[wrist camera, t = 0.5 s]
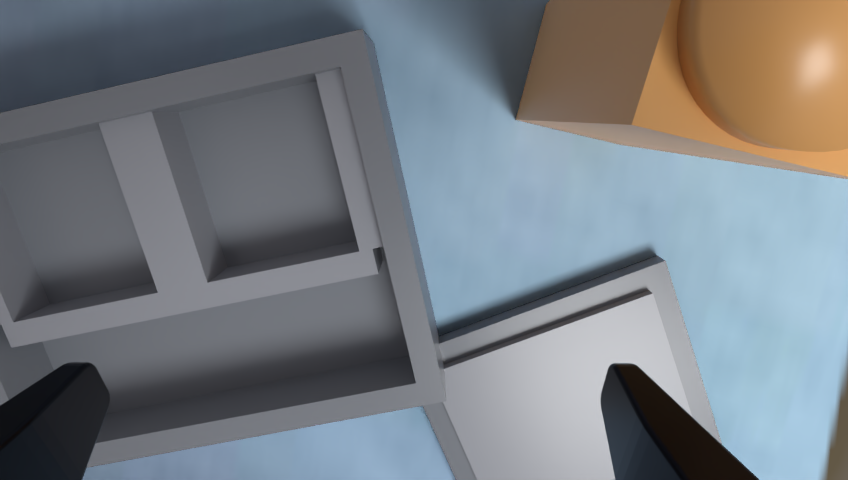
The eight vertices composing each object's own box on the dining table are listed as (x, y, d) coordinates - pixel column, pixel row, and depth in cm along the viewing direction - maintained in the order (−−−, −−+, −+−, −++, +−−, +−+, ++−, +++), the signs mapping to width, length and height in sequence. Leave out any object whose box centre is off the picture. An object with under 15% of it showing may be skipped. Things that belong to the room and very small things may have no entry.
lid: (715, 444, 24) (730, 460, 23) (479, 521, 26) (481, 541, 24) (657, 255, 22) (669, 263, 21) (402, 350, 23) (400, 362, 22)
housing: (444, 360, 24) (446, 401, 20) (76, 429, 25) (19, 480, 21) (373, 43, 20) (362, 28, 17) (-45, 139, 22) (-134, 144, 18)
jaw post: (620, 144, 21) (916, 189, 8) (515, 119, 21) (650, 125, 8) (656, 31, 20) (1058, -119, 7) (546, 4, 20) (757, -201, 7)
